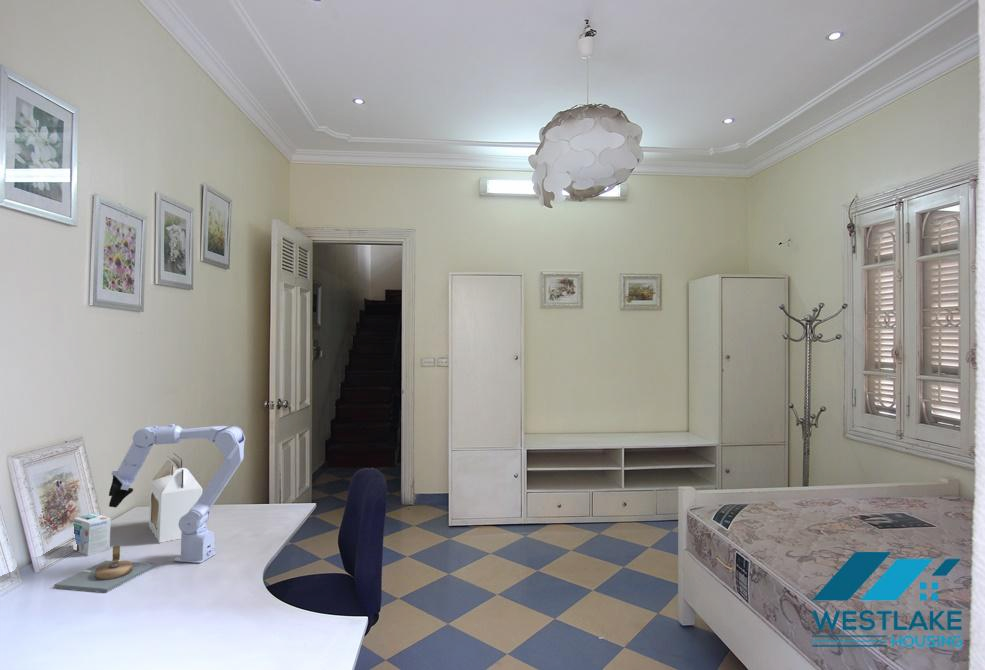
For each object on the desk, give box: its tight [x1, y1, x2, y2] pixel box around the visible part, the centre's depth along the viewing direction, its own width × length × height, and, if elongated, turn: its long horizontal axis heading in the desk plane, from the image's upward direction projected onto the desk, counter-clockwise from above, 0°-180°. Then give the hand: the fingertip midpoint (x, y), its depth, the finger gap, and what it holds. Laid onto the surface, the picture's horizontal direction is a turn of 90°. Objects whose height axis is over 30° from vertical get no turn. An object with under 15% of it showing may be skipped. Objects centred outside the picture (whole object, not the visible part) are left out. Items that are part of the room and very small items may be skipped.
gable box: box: [148, 452, 203, 544], centre depth 196 cm, size 22×13×28 cm, turn 41°
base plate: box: [53, 560, 155, 593], centre depth 156 cm, size 17×17×1 cm
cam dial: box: [95, 544, 133, 580], centre depth 158 cm, size 12×9×6 cm
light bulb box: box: [72, 512, 112, 557], centre depth 177 cm, size 11×7×11 cm, turn 62°
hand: (112, 501), depth 168 cm, fingers open, 7 cm apart
